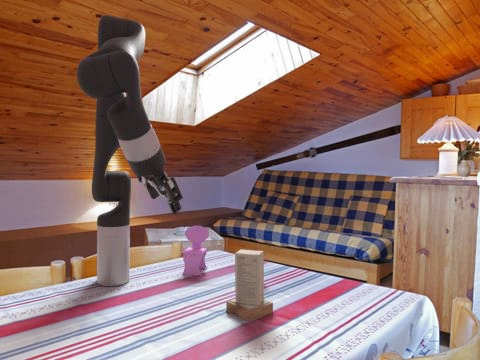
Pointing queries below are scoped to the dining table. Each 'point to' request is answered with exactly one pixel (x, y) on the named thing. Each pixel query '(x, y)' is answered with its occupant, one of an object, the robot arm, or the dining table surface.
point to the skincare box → (249, 276)
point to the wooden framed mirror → (249, 309)
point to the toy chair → (195, 250)
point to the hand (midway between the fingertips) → (166, 203)
